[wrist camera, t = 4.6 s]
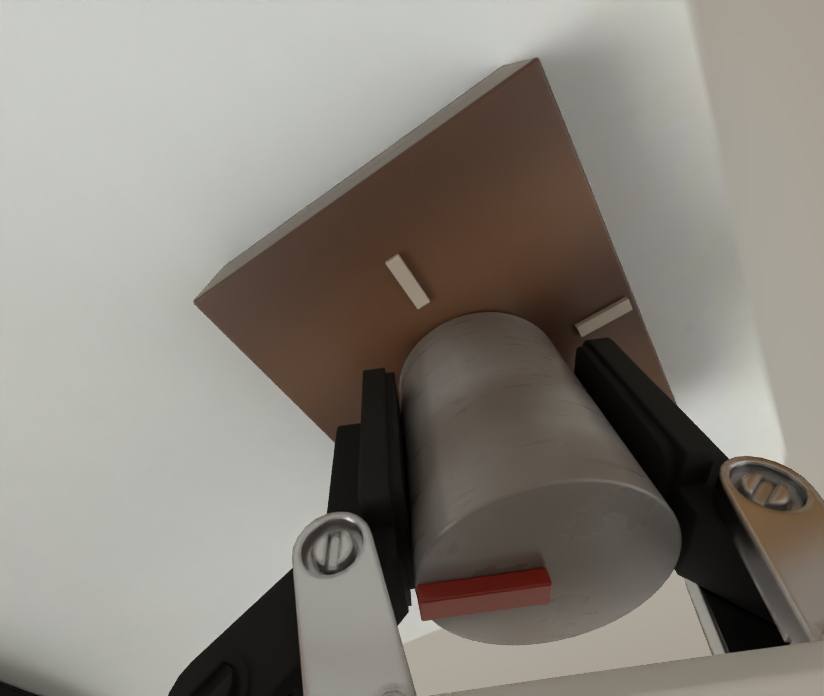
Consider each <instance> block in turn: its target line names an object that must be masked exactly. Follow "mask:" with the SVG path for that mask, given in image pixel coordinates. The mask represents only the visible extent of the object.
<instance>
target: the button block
mask: <svg viewBox="0 0 824 696" xmlns="http://www.w3.org/2000/svg"><path fill="white" fill-rule="evenodd" d="M0 696H35V695H33V694H30V693H27V692H25V691H22V690H19V689H16V688H14V687H11V686H8V685H6V684H3V683H0Z"/></svg>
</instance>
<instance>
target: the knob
mask: <svg viewBox="0 0 824 696" xmlns="http://www.w3.org/2000/svg"><path fill="white" fill-rule="evenodd" d="M399 394H400V407H401V419H402V432H403V444H404V456H405V469H406V481H407V494H408V506H409V519H410V531H411V544H412V556H413V569H414V581H415V592H416V595H417V598H418V604H419V610H420V615H421V619H422V621H428V620H432V621H434V622H435V623H436V624H437V625H439V626H440V627H442V628H443V629H445V630H447V631H448V632H450V633H453V634H455V635H457V636H460V637H463V638H466V639H469V640H472V641H477V642H483V643H489V644H498V645H530V644H539V643H547V642H552V641H558V640H562V639H566V638H570V637H574V636H578V635H581V634H584V633H587V632H589V631H592V630H595V629H598V628H600V627H603V626H605V625H607V624H609V623H611V622H613V621H615V620H617V619H619V618H621V617H623V616H624V615H626V614H628V613H629V612H631V611H632V610H634V609H635V608H637V607H639V606H640V605H641V604H643V603H644V602H645V601H646V600H648V599H649V598H650V597H651V596H652V595H653V594H654V593H655V592H656V591H657V590H659V588H661V586H662V585H663V584H664V583H665V581H666V580H667V579H668V578H669V576H670V575H671V573H672V571H673V570H674V568H675V566H676V564H677V561H678V559H679V556H680V552H681V547H682V534H681V530H680V525H679V522H678V520H677V518H676V516H675V514H674V512H673V511H672V509H671V508H670V507H669V505H668V504H667V502H666V501H665V500H664V498H663V497H662V495H661V494H660V493H659V491H658V490H657V488H656V487H655V486H654V484H653V483H652V481H651V480H650V479H649V477H648V476H647V474H646V473H645V472H644V470H643V469H642V467H641V466H640V465H639V463H638V462H637V460H636V459H635V458H634V456H633V455H632V453H631V452H630V451H629V449H628V448H627V446H626V445H625V444H624V442H623V441H622V440H621V438H620V437H619V435H618V434H617V433H616V431H615V430H614V428H613V427H612V426H611V424H610V423H609V421H608V420H607V419H606V417H605V416H604V414H603V413H602V412H601V410H600V409H599V407H598V406H597V405H596V403H595V402H594V400H593V399H592V398H591V396H590V395H589V393H588V392H587V391H586V389H585V388H584V386H583V385H582V384H581V382H580V381H579V379H578V378H577V377H576V375H575V374H574V372H573V371H572V370H571V368H570V367H569V366H568V364H567V363H566V361H565V360H564V359H563V357H562V356H561V354H560V353H559V352H558V350H557V349H556V347H555V346H554V345H553V343H552V342H551V340H550V339H549V338H548V337H547V335H546V334H545V333H544V332H543V331H542V330H541V329H539V328H538V327H537V326H535V325H534V324H532V323H531V322H529V321H527V320H525V319H523V318H520V317H517V316H514V315H511V314H505V313H499V312H481V313H473V314H468V315H464V316H461V317H457V318H454V319H452V320H450V321H448V322H445V323H443V324H442V325H440V326H438V327H437V328H435V329H433V330H432V331H431V332H429V333H428V334H427V335H426V336H424V337H423V338H422V339H421V340H420V341H419V342H418V343H417V345H416V346H415V347H414V348H413V350H412V351H411V352H410V354H409V356H408V357H407V359H406V361H405V363H404V366H403V368H402V371H401V376H400V382H399Z"/></svg>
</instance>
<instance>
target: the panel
mask: <svg viewBox="0 0 824 696" xmlns="http://www.w3.org/2000/svg"><path fill="white" fill-rule="evenodd" d="M194 304H195V305H196V306H197V307H198V308H199V309H200V310H201V311H202V312H203V313H204V314H205V315H206V316H207V317H208V318H209V319H210V320H211V321H212V322H213V323H214V324H215V325H216V326H217V327H218V328H219V329H220V330H221V331H222V332H223V333H224V334H225V335H226V336H227V337H228V338H229V339H230V340H231V341H232V342H233V343H234V344H235V345H236V346H237V347H238V348H239V349H240V350H241V351H242V352H243V353H244V354H245V355H247V356H248V357H249V358H250V359H251V360H252V361H253V362H254V363H255V364H256V365H257V366H258V367H259V368H260V369H261V370H262V371H263V372H264V373H265V374H266V375H267V376H268V377H269V378H270V379H271V380H272V381H273V382H274V383H275V384H276V385H277V386H278V387H279V388H280V389H281V390H282V391H283V392H284V393H285V394H286V395H287V396H288V397H289V398H290V399H291V400H292V401H293V402H294V403H295V404H296V405H297V406H298V407H299V408H300V409H301V410H302V411H303V412H304V413H305V414H306V415H307V416H308V417H309V418H310V419H311V420H312V421H313V422H314V423H315V424H316V425H317V426H318V427H319V428H320V429H321V430H322V431H323V432H325V433H326V434H327V435H328V436H329V437H330V438H331V439H332V440H333V441H334V442H335V440H336V432H337V428H338V426H343V425H350V424H357V423H361V405H362V382H363V371H364V370H370V369H377V368H384V367H385V370H386V373H390V372H394V374H395V380H396V386H397V393H398V399H399V405H400V394H399V382H400V376H401V371H402V368H403V366H404V363H405V361H406V359H407V357H408V356H409V354H410V352H411V351H412V350H413V348H414V347H415V346H416V345H417V343H418V342H419V341H420V340H421V339H422V338H423V337H424V336H426V335H427V334H428V333H429V332H431V331H432V330H433V329H435V328H437V327H438V326H440V325H442V324H443V323H445V322H448V321H450V320H452V319H454V318H457V317H461V316H464V315H468V314H473V313H481V312H499V313H505V314H511V315H514V316H517V317H520V318H523V319H525V320H527V321H529V322H531V323H532V324H534V325H535V326H537V327H538V328H539V329H541V330H542V331H543V332H544V333H545V334H546V335H547V337H548V338H549V339H550V340H551V342H552V343H553V345H554V346H555V347H556V349H557V350H558V352H559V353H560V354H561V356H562V357H563V359H564V360H565V361H566V363H567V364H568V366H569V367H570V368H571V370H572V371H573V372H574V367H575V356H576V350H577V348H578V347H581V346H582V345H583V343H584V341H585V340H590V339H598V338H605V337H609V338H611V339H612V340H613V341H614V342H615V343H616V344H617V345H618V346H619V347H620V348H621V349H622V350H623V351H624V352H625V353H626V354H627V355H628V356H629V357H630V358H631V359H632V360H633V362H634V363H635V364H636V365H637V366H638V367H639V368H640V369H641V370H642V371H643V372H644V373H645V374H646V375H647V376H648V377H649V378H650V379H651V380H652V381H653V382H654V383H655V384H656V385H657V386H658V387H659V388H660V389H661V390H662V391H663V392H664V393H665V394H666V395H667V396H668V397H669V398H670V399H671V400H672V401H673V402H674V403H675V404H676V402H675V399H674V397H673V394H672V392H671V389H670V386H669V384H668V381H667V379H666V376H665V374H664V371H663V369H662V366H661V364H660V361H659V359H658V356H657V354H656V351H655V349H654V346H653V344H652V341H651V339H650V336H649V334H648V331H647V329H646V326H645V324H644V321H643V319H642V316H641V314H640V311H639V309H638V306H637V304H636V301H635V298H634V296H633V293H632V291H631V288H630V286H629V283H628V281H627V278H626V276H625V273H624V271H623V268H622V266H621V263H620V261H619V258H618V256H617V253H616V251H615V248H614V246H613V243H612V241H611V238H610V236H609V233H608V231H607V228H606V226H605V223H604V221H603V218H602V216H601V213H600V210H599V208H598V205H597V203H596V200H595V198H594V195H593V193H592V190H591V188H590V185H589V183H588V180H587V178H586V175H585V173H584V170H583V168H582V165H581V163H580V160H579V158H578V155H577V153H576V150H575V148H574V145H573V143H572V140H571V138H570V135H569V133H568V130H567V128H566V125H565V122H564V120H563V117H562V115H561V112H560V110H559V107H558V105H557V102H556V100H555V97H554V95H553V92H552V90H551V87H550V85H549V82H548V80H547V77H546V75H545V72H544V70H543V67H542V65H541V62H540V60H539V59H538V58H532V59H528V60H524V61H520V62H516V63H511V64H507V65H503V66H502V67H500V68H499V69H498V70H496V71H495V72H493V73H492V74H491V75H489V76H488V77H486V78H485V79H484V80H482V81H481V82H479V83H478V84H477V85H475V86H474V87H472V88H471V89H470V90H468V91H467V92H466V93H464V94H463V95H461V96H460V97H459V98H457V99H456V100H454V101H453V102H452V103H450V104H449V105H447V106H446V107H445V108H443V109H442V110H441V111H439V112H438V113H436V114H435V115H434V116H432V117H431V118H429V119H428V120H427V121H425V122H424V123H422V124H421V125H420V126H418V127H417V128H415V129H414V130H413V131H411V132H410V133H409V134H407V135H406V136H404V137H403V138H402V139H400V140H399V141H397V142H396V143H395V144H393V145H392V146H390V147H389V148H388V149H386V150H385V151H384V152H382V153H381V154H379V155H378V156H377V157H375V158H374V159H372V160H371V161H370V162H368V163H367V164H365V165H364V166H363V167H361V168H360V169H359V170H357V171H356V172H354V173H353V174H352V175H350V176H349V177H347V178H346V179H345V180H343V181H342V182H340V183H339V184H338V185H336V186H335V187H333V188H332V189H331V190H329V191H328V192H327V193H325V194H324V195H322V196H321V197H320V198H318V199H317V200H315V201H314V202H313V203H311V204H310V205H308V206H307V207H306V208H304V209H303V210H302V211H300V212H299V213H297V214H296V215H295V216H293V217H292V218H290V219H289V220H288V221H286V222H285V223H283V224H282V225H281V226H279V227H278V228H276V229H275V230H274V231H272V232H271V233H270V234H268V235H267V236H265V237H264V238H263V239H261V240H260V241H258V242H257V243H256V244H254V245H253V246H251V247H250V248H249V249H247V250H246V251H245V252H243V253H242V254H240V255H239V256H238V257H236V258H235V259H233V260H232V261H231V262H229V263H228V264H226V265H225V266H224V267H223V268H222V269H221V270H220V272H219V273H218V274H217V275H216V276H215V277H214V278H213V279H212V281H211V282H210V283H209V284H208V285H207V286H206V287H205V288H204V290H203V291H202V292H201V293H200V294H199V295H198V296H197V297H196V298H195V300H194ZM676 405H677V404H676ZM400 411H401V407H400Z"/></svg>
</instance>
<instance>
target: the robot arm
mask: <svg viewBox="0 0 824 696" xmlns="http://www.w3.org/2000/svg"><path fill="white" fill-rule="evenodd" d="M574 374H575V375H576V377H577V378H578V379H579V381H580V382H581V384H582V385H583V386H584V388H585V389H586V391H587V392H588V393H589V395H590V396H591V398H592V399H593V400H594V402H595V403H596V405H597V406H598V407H599V409H600V410H601V412H602V413H603V414H604V416H605V417H606V419H607V420H608V421H609V423H610V424H611V426H612V427H613V428H614V430H615V431H616V433H617V434H618V435H619V437H620V438H621V440H622V441H623V442H624V444H625V445H626V446H627V448H628V449H629V451H630V452H631V453H632V455H633V456H634V458H635V459H636V460H637V462H638V463H639V465H640V466H641V467H642V469H643V470H644V472H645V473H646V474H647V476H648V477H649V479H650V480H651V481H652V483H653V484H654V486H655V487H656V488H657V490H658V491H659V493H660V494H661V495H662V497H663V498H664V500H665V501H666V502H667V504H668V505H669V507H670V508H671V509H672V511H673V512H674V514H675V516H676V518H677V520H678V522H679V525H680V530H681V534H682V547H681V552H680V556H679V559H678V561H677V564H676V566H675V568H674V569H675V571H676V572H677V574H678V575H680V576H682V577H684V578H685V583H686V587H687V589H688V592H689V595H690V597H691V600H692V603H693V605H694V608H695V611H696V613H697V616H698V619H699V621H700V624H701V627H702V629H703V632H704V635H705V637H706V640H707V642H708V645H709V648H710V651H711V653H712V656H705V657H698V658H691V659H684V660H677V661H669V662H662V663H655V664H647V665H640V666H634V667H626V668H619V669H612V670H605V671H598V672H590V673H584V674H576V675H569V676H562V677H555V678H548V679H542V680H535V681H528V682H521V683H514V684H507V685H500V686H493V687H487V688H480V689H473V690H467V691H459V692H452V693H445V694H438V695H431V696H824V500H823V499H822V498H821V496H820V495H819V494H818V492H817V491H816V490H815V489H814V487H813V486H812V485H811V484H810V483H809V482H808V481H807V480H806V479H805V478H804V477H802V476H801V475H799V474H798V473H796V472H795V471H793V470H792V469H790V468H788V467H786V466H784V465H781V464H779V463H777V462H774V461H771V460H767V459H764V458H759V457H751V456H742V457H734V458H732V459H728V457H727V456H726V455H725V454H724V453H723V452H722V451H721V450H720V449H719V448H718V447H717V446H716V445H715V444H714V443H713V442H712V441H711V440H710V439H709V438H708V437H707V436H706V435H705V434H704V433H703V432H702V431H701V430H700V429H699V428H698V427H697V426H696V425H695V424H694V423H693V421H692V420H691V419H690V418H689V417H688V416H687V415H686V414H685V413H684V412H683V411H682V410H681V409H680V408H679V407H678V406H677V405H676V404H675V403H674V402H673V401H672V400H671V399H670V398H669V397H668V396H667V395H666V394H665V393H664V392H663V391H662V390H661V389H660V388H659V387H658V386H657V385H656V384H655V383H654V382H653V381H652V380H651V379H650V378H649V377H648V376H647V375H646V374H645V373H644V372H643V371H642V370H641V369H640V368H639V367H638V366H637V365H636V364H635V363H634V362H633V360H632V359H631V358H630V357H629V356H628V355H627V354H626V353H625V352H624V351H623V350H622V349H621V348H620V347H619V346H618V345H617V344H616V343H615V342H614V341H613V340H612V339H611V338H609V337H605V338H598V339H590V340H585V341H584V343H583V345H582V346H581V347H578V348H577V350H576V356H575V367H574ZM292 564H293V568H292V569H291V570H290V571H289V572H288V573H287V574H286V575H285V576H284V577H282V578H281V579H280V580H279V581H278V582H277V583H276V584H275V585H274V586H273V587H272V588H271V589H270V590H268V591H267V592H266V593H265V594H264V595H263V596H262V597H261V598H260V599H259V600H258V601H257V602H256V603H254V604H253V605H252V606H251V607H250V608H249V609H248V610H247V611H246V612H245V613H244V614H243V615H242V616H240V617H239V618H238V619H237V620H236V621H235V622H234V623H233V624H232V625H231V626H230V627H229V628H228V629H227V630H225V631H224V632H223V633H222V634H221V635H220V636H219V637H218V638H217V639H216V640H215V641H214V642H213V643H211V644H210V645H209V646H208V647H207V648H206V649H205V650H204V651H203V652H202V653H201V654H200V655H199V656H197V657H196V658H195V659H194V660H193V661H192V662H191V663H190V664H189V665H188V667H187V668H186V669H185V670H184V671H183V672H182V673H181V675H180V676H179V677H178V679H177V681H176V682H175V684H174V686H173V687H172V689H171V691H170V692H169V695H168V696H417V695H416V691H415V688H414V685H413V681H412V677H411V674H410V670H409V666H408V663H407V659H406V655H405V652H404V649H403V645H402V641H401V637H400V634H399V630H398V627H397V626H398V625H399V623H400V622H401V621H402V620H403V618H404V617H405V616H406V615H407V613H408V612H409V610H408V606H412V605H411V591H410V589H415V581H414V569H413V556H412V544H411V531H410V519H409V506H408V494H407V481H406V469H405V456H404V444H403V432H402V419H401V411H400V405H399V399H398V393H397V386H396V380H395V374H394V372H390V373H386V370H385V367H384V368H377V369H370V370H364V371H363V382H362V405H361V423H357V424H350V425H343V426H338V428H337V432H336V440H335V449H334V458H333V466H332V475H331V484H330V492H329V501H328V510H327V514H326V515H324V516H321V517H319V518H317V519H315V520H314V521H313V522H311V523H310V524H309V525H308V526H306V527H305V528H304V530H303V531H302V532H301V534H300V535H299V536H298V538H297V540H296V542H295V545H294V547H293V555H292Z"/></svg>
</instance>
